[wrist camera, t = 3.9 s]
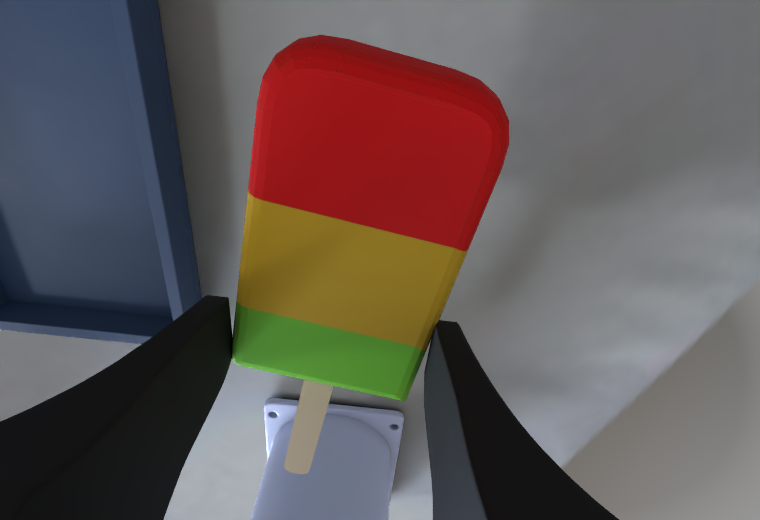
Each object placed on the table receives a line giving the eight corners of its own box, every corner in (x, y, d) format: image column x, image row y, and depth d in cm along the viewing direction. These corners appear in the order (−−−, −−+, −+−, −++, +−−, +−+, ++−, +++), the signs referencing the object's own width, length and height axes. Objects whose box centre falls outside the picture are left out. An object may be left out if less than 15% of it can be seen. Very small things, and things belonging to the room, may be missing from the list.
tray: (205, 322, 24) (190, 349, 22) (9, 302, 24) (-22, 327, 22) (137, -135, 14) (100, -150, 12) (-194, -169, 14) (-275, -187, 12)
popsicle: (518, 82, 11) (537, 103, 9) (368, 462, 19) (364, 509, 17) (281, 14, 10) (257, 23, 9) (231, 434, 18) (214, 479, 16)
